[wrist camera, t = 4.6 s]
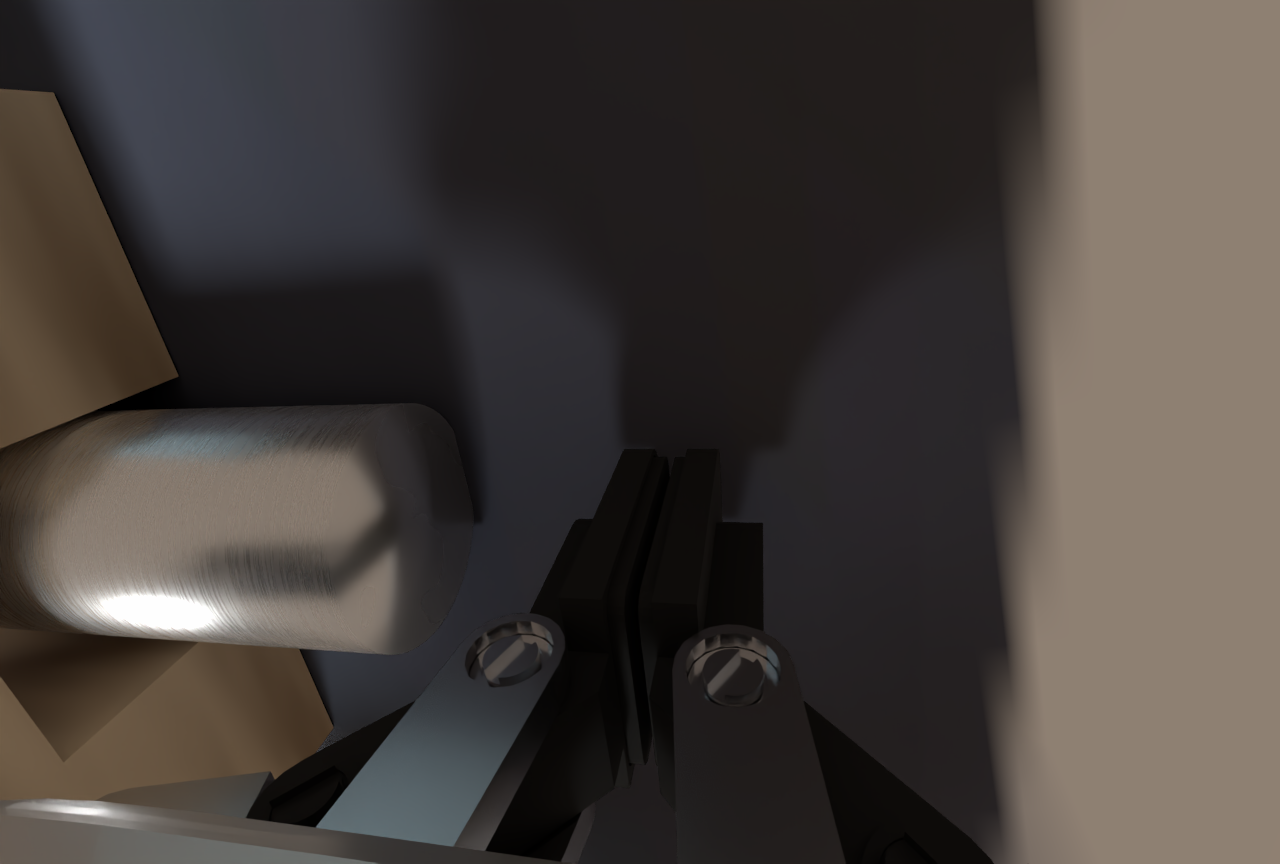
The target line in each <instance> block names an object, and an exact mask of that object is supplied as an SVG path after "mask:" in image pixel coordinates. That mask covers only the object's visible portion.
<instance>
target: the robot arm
mask: <svg viewBox="0 0 1280 864" xmlns="http://www.w3.org/2000/svg"><path fill="white" fill-rule="evenodd" d="M652 736H653V745H654V753H655V761H656V765H657V766H658V774H659V783H660V791H661V794H662V796H663V797H664V798H665V799H666V801H667V802H668V803H669V805H670V806H671V807H672V808H673V810H674V811H675V812H676V839H677V864H994V863H993V862H992V860H991V859H990V858H989V857H988V856H987V855H986V854H985V853H984V852H983V851H982V850H981V849H980V848H979V847H978V846H977V845H976V844H975V843H974V842H973V840H972V839H971V838H970V837H968V836H967V835H966V834H965V833H963V832H962V831H961V830H960V829H959V828H957V827H956V826H955V825H954V824H953V823H951V822H950V821H949V820H948V819H947V818H945V817H944V816H943V815H942V814H940V813H939V812H938V811H937V810H936V809H934V808H933V807H932V806H931V805H930V804H928V803H927V802H926V801H925V800H923V799H922V798H921V797H920V796H919V795H917V794H916V793H915V792H914V791H913V790H911V789H910V788H909V787H908V786H906V785H905V784H904V783H903V782H902V781H900V780H899V779H898V778H897V777H896V776H894V775H893V774H892V773H891V772H890V771H888V770H887V769H886V768H885V767H883V766H882V765H881V764H880V763H879V762H877V761H876V760H875V759H874V758H873V757H871V756H870V755H869V754H868V753H866V752H865V751H864V750H863V749H862V748H860V747H859V746H858V745H857V744H856V743H854V742H853V741H852V740H851V739H850V738H848V737H847V736H846V735H845V734H843V733H842V732H841V731H840V730H839V729H837V728H836V727H835V726H834V725H833V724H831V723H830V722H829V721H828V720H826V719H825V718H824V717H823V716H822V715H820V714H819V713H818V712H817V711H816V710H814V709H813V708H812V707H811V706H809V705H808V704H807V703H806V702H805V701H803V698H802V694H801V690H800V686H799V682H798V679H797V675H796V671H795V667H794V664H793V662H792V660H791V658H790V655H789V653H788V651H787V650H786V649H785V648H784V647H783V646H782V645H781V644H780V643H779V642H778V641H777V640H776V639H775V638H773V637H772V636H770V635H768V634H766V633H765V632H764V626H763V523H740V522H723V520H722V496H721V472H720V453H719V449H687V452H686V457H675V460H674V464H673V468H672V471H671V475H670V476H669V465H668V459H667V457H657V452H656V450H655V449H624V451H623V452H622V455H621V457H620V459H619V461H618V464H617V466H616V468H615V471H614V473H613V475H612V477H611V480H610V482H609V484H608V486H607V489H606V491H605V493H604V495H603V498H602V500H601V502H600V504H599V507H598V509H597V511H596V514H595V516H594V518H593V519H578V520H576V521H575V522H574V524H573V525H572V527H571V529H570V531H569V533H568V535H567V537H566V539H565V542H564V544H563V546H562V548H561V550H560V552H559V554H558V556H557V558H556V560H555V562H554V564H553V566H552V568H551V570H550V572H549V574H548V576H547V578H546V580H545V582H544V585H543V587H542V589H541V591H540V593H539V595H538V597H537V599H536V601H535V603H534V605H533V607H532V609H531V611H530V613H517V614H511V615H506V616H502V617H500V618H497V619H494V620H492V621H489V622H487V623H486V624H484V625H482V626H481V627H479V628H478V629H476V630H474V631H473V632H472V633H471V634H470V635H469V636H468V637H467V638H466V639H465V640H464V641H463V642H462V643H461V644H460V646H459V647H458V648H457V649H456V651H455V652H454V653H453V655H452V656H451V657H450V658H449V660H448V661H447V662H446V663H445V665H444V666H443V667H442V668H441V670H440V671H439V672H438V673H437V675H436V676H435V677H434V679H433V680H432V681H431V682H430V684H429V685H428V686H427V687H426V689H425V690H424V691H423V692H422V694H421V695H420V696H419V697H418V699H417V700H416V701H414V702H412V703H410V704H408V705H406V706H404V707H402V708H401V709H399V710H397V711H395V712H393V713H391V714H389V715H387V716H385V717H383V718H382V719H380V720H378V721H376V722H374V723H372V724H370V725H368V726H366V727H364V728H362V729H361V730H359V731H357V732H355V733H353V734H351V735H349V736H347V737H345V738H343V739H342V740H340V741H338V742H336V743H334V744H332V745H330V746H328V747H326V748H324V749H323V750H321V751H319V752H317V753H315V754H313V755H311V756H309V757H307V758H305V759H304V760H302V761H300V762H299V763H297V764H296V765H294V766H292V767H291V768H289V769H288V770H286V771H285V772H283V773H282V774H281V775H280V776H279V777H278V778H276V779H274V777H273V775H272V773H271V771H268V772H260V773H251V774H243V775H235V776H227V777H218V778H210V779H202V780H194V781H185V782H177V783H169V784H161V785H152V786H144V787H136V788H128V789H125V790H121V791H117V792H114V793H110V794H107V795H105V796H103V797H101V798H99V799H97V800H95V801H90V800H70V799H51V798H42V799H18V800H0V864H578V861H579V859H580V856H581V854H582V851H583V848H584V846H585V843H586V841H587V838H588V836H589V833H590V831H591V828H592V826H593V821H594V817H595V813H596V804H595V802H596V801H597V800H598V799H600V798H601V797H603V796H604V795H605V794H607V793H608V792H610V791H611V790H613V789H614V787H622V788H630V785H631V780H632V775H633V770H634V765H635V764H642V765H645V764H646V763H647V761H648V757H649V751H650V746H651V740H652Z"/></svg>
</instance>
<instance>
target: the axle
mask: <svg viewBox="0 0 1280 864" xmlns="http://www.w3.org/2000/svg"><path fill="white" fill-rule="evenodd" d="M473 516H474V510H473V506H472V502H471V498H470V494H469V490H468V486H467V482H466V478H465V474H464V470H463V466H462V462H461V458H460V454H459V450H458V446H457V442H456V438H455V434H454V430H453V429H452V427H451V426H450V425H449V423H448V422H447V421H446V420H445V419H444V418H443V417H442V416H441V415H440V414H439V413H438V412H436V411H435V410H433V409H432V408H430V407H427V406H425V405H422V404H417V403H396V404H356V405H317V406H277V407H237V408H197V409H157V410H117V411H92V412H90V413H87V414H85V415H82V416H80V417H77V418H75V419H72V420H70V421H67V422H65V423H62V424H60V425H57V426H55V427H53V428H50V429H48V430H45V431H43V432H40V433H38V434H35V435H33V436H30V437H28V438H25V439H23V440H20V441H18V442H15V443H13V444H11V445H8V446H6V447H3V448H1V449H0V628H4V629H18V630H33V631H48V632H62V633H77V634H92V635H106V636H121V637H136V638H150V639H165V640H179V641H194V642H209V643H223V644H238V645H253V646H267V647H282V648H297V649H311V650H326V651H341V652H355V653H370V654H385V655H398V654H402V653H406V652H409V651H411V650H413V649H415V648H417V647H418V646H420V645H421V644H423V643H424V642H425V641H426V640H427V639H429V638H430V637H431V636H432V635H433V634H434V633H435V631H436V630H437V629H438V628H439V626H440V625H441V624H442V622H443V621H444V619H445V618H446V616H447V615H448V613H449V611H450V609H451V607H452V605H453V604H454V602H455V599H456V597H457V595H458V592H459V590H460V587H461V584H462V581H463V578H464V575H465V571H466V568H467V564H468V559H469V555H470V549H471V542H472V534H473Z"/></svg>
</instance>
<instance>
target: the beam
mask: <svg viewBox="0 0 1280 864" xmlns="http://www.w3.org/2000/svg"><path fill="white" fill-rule="evenodd" d="M176 377H178V373H177V371H176V369H175V367H174V364H173V362H172V360H171V358H170V355H169V353H168V351H167V348H166V346H165V344H164V342H163V339H162V337H161V335H160V333H159V330H158V328H157V326H156V324H155V321H154V319H153V317H152V314H151V312H150V310H149V308H148V305H147V303H146V301H145V299H144V296H143V294H142V292H141V289H140V287H139V285H138V283H137V280H136V278H135V276H134V274H133V271H132V269H131V267H130V265H129V262H128V260H127V258H126V255H125V253H124V251H123V249H122V246H121V244H120V242H119V240H118V237H117V235H116V233H115V230H114V228H113V226H112V224H111V221H110V219H109V217H108V215H107V212H106V210H105V208H104V206H103V203H102V201H101V199H100V196H99V194H98V192H97V190H96V187H95V185H94V183H93V181H92V178H91V176H90V174H89V172H88V169H87V167H86V165H85V162H84V160H83V158H82V156H81V153H80V151H79V149H78V147H77V144H76V142H75V140H74V137H73V135H72V133H71V131H70V128H69V126H68V124H67V122H66V119H65V117H64V115H63V113H62V110H61V108H60V106H59V103H58V101H57V99H56V97H55V94H54V92H39V91H24V90H10V89H0V449H1V448H3V447H6V446H8V445H11V444H13V443H15V442H18V441H20V440H23V439H25V438H28V437H30V436H33V435H35V434H38V433H40V432H43V431H45V430H48V429H50V428H53V427H55V426H57V425H60V424H62V423H65V422H67V421H70V420H72V419H75V418H77V417H80V416H82V415H85V414H87V413H90V412H92V411H94V410H97V409H99V408H102V407H104V406H107V405H109V404H112V403H114V402H117V401H119V400H122V399H124V398H127V397H129V396H132V395H134V394H136V393H139V392H141V391H144V390H146V389H149V388H151V387H154V386H156V385H159V384H161V383H164V382H166V381H169V380H171V379H173V378H176ZM333 728H334V727H333V725H332V723H331V721H330V718H329V716H328V714H327V711H326V709H325V707H324V705H323V702H322V700H321V698H320V696H319V693H318V691H317V689H316V686H315V684H314V682H313V680H312V677H311V675H310V673H309V671H308V668H307V666H306V664H305V662H304V659H303V657H302V655H301V652H300V650H299V649H297V648H282V647H267V646H253V645H238V644H223V643H209V642H194V641H179V640H165V639H150V638H136V637H121V636H106V635H92V634H77V633H62V632H48V631H33V630H18V629H4V628H0V800H18V799H42V798H51V799H70V800H90V801H95V800H97V799H99V798H101V797H103V796H105V795H107V794H110V793H114V792H117V791H121V790H125V789H128V788H136V787H144V786H152V785H161V784H169V783H177V782H185V781H194V780H202V779H210V778H218V777H227V776H235V775H243V774H251V773H260V772H268V771H271V773H272V775H273V777H274V779H276V778H278V777H279V776H280V775H281V774H282V773H283V772H285V771H286V770H288V769H289V768H291V767H292V766H294V765H296V764H297V763H299V762H300V761H302V760H304V759H305V758H307V757H309V756H311V755H313V754H315V753H316V751H317V750H318V749H319V747H320V746H321V744H322V743H323V742H324V740H325V739H326V738H327V736H328V735H329V733H330V732H331V731H332V729H333Z"/></svg>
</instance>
